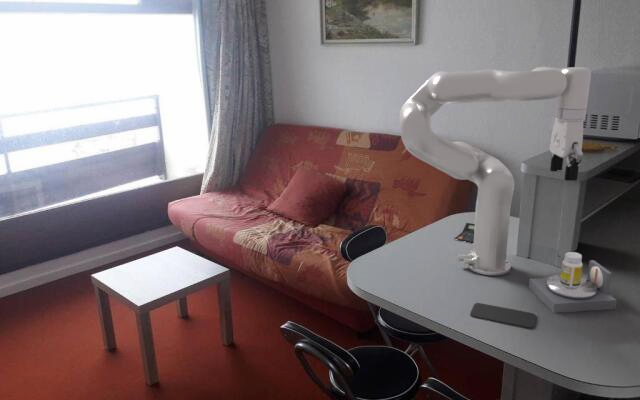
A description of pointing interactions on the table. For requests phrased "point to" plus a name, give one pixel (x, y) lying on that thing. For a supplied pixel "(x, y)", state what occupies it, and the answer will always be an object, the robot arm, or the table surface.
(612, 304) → the scale
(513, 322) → the phone
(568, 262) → the supplement bottle
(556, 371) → the table surface
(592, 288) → the scale pan
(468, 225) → the calculator
